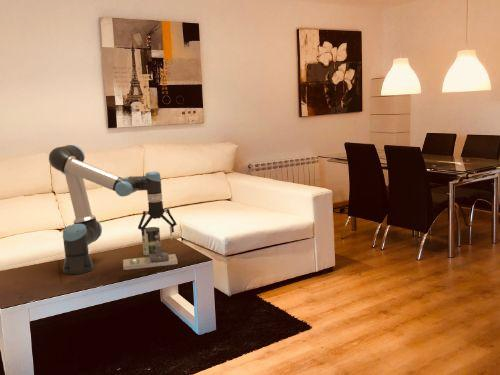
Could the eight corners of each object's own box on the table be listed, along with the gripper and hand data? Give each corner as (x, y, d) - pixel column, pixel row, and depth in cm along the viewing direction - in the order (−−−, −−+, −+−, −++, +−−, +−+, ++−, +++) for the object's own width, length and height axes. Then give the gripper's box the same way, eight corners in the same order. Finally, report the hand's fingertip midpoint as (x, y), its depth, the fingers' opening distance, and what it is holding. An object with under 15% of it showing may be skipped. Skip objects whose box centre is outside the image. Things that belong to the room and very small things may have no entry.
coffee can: (163, 250, 296) (162, 226, 294) (157, 255, 287) (155, 231, 284) (147, 250, 299) (145, 226, 296) (140, 255, 289) (138, 231, 286)
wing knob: (149, 257, 277) (148, 242, 276) (168, 255, 280) (167, 240, 278) (150, 262, 268) (149, 247, 266) (169, 260, 270) (168, 245, 269)
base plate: (123, 270, 264) (122, 264, 263) (123, 263, 275) (123, 257, 275) (177, 264, 270) (177, 258, 270) (175, 257, 282) (175, 251, 281)
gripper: (131, 204, 262) (134, 244, 265) (179, 200, 267) (182, 239, 271) (130, 202, 269) (134, 241, 273) (178, 197, 275) (181, 235, 278)
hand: (158, 240), depth 272 cm, fingers open, 13 cm apart
